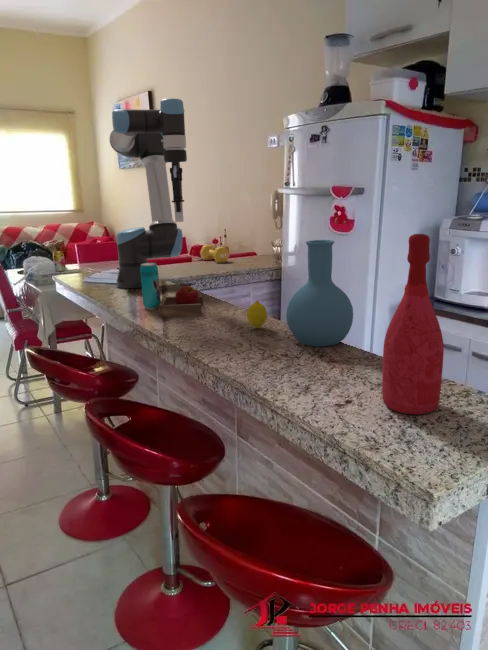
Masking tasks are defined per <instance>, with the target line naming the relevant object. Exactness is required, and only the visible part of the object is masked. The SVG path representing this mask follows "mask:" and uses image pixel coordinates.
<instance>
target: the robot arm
mask: <svg viewBox="0 0 488 650" xmlns="http://www.w3.org/2000/svg"><path fill="white" fill-rule="evenodd" d="M159 103H160V104H159V105H160V108H159V109H131V108H130V109H128V108H127V109H125V108H121V109H120V108H119V109H114V110H113V111H112V113H111V119H112V131H111V132H110V134H109V144H110V146H111V148H112V149H113V151H115V152H116V153H117V154H119V155H120V156H122V157H126V158H133V159H134V158H135V159H136V158H137V159H140V163H141V165H143V166H144V168H145V174H146V175H145V176H146V184H147V191H148V198H149V199H148V200H149V208H150V216H151V217H150V218H151V222H150V223H151V224H150V225H149V226H148V230H146V228H145V227H144V226H141V227H133V228H127V229H123V230H120V231H118V232H117V233H116V245H117V255H118V257H117V258H118V266H119V269H118V274H117V278H116V287H117V288H119V289H140V288H141V289H142V284H141V273H140V268H141V264H143V263H149V261H148V260H150V259H151V260H152V259H164V258H174V257H179V255H180V254H181V252H182V249H183V231H182V230H183V229H181V228H180V227H178V226H177V225H178V224H177V223H181V222H184V221H185V220H184V209H183V202H184V203H185V199H183V188H182V187H183V185H182V183H183V182H182V181H183V168H182V167H181V164H180V163H186V162H187V159H188V158H187V157H188V156H187V150H186V148H187V137H186V128H185V127H186V126H185V122H186V121H185V109H184V107H185V106H184V101H183V100H182V99H180V98H163V99H161V100H160V102H159ZM168 163H171V167H169V173H170V179H171V185H172V197H173V199H172V200H171V195H170V187H169V181H168V173H167V165H166V164H168ZM171 203H174V204H173V205H174V206H173V207H174V218H175V219H174V218H173V213H172V204H171ZM173 219H174V220H173Z"/></svg>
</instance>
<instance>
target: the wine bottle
mask: <svg viewBox="0 0 488 650" xmlns="http://www.w3.org/2000/svg"><path fill="white" fill-rule="evenodd" d="M430 243H431V240H430V236H429V235H427V234H425V233H413V234H411V235H410V236H409V238H408V253H407V257H406V258H407V262H408V264H409V268H408V275H407V281H406V282H407V283H406V284H405V286H404V293H403V296H402V298H401V300H400V303H399V304H398V306H397V308H396V309H395V312H394V314H393V316H392V318H391V320H390V322H389V325H388V327H387V330H386V333H385V336H384V341H383V349H382V351H383V353H382V382H381V383H382V386H381V387H382V392H381V395H382V401H383V404H384V405H385V406H387V407H388V408H389V409H390V410H392V411H395V412H397V413H400V414H406V415H425V414H429V413H431V412H433V411H435V410H436V409H437V408H438V406H439V402H440V397H441V390H442V389H441V388H442V379H443V378H442V377H443V367H444V350H445V349H444V345H445V344H444V336H443V333H442V329H441V326H440V323H439V320H438V317H437V315H436V312H435V309H434V307H433V304H432V302H431V299H430V296H429V295H430V294H429V288H428V283H427V264H428V262H430V260H431V255H430Z"/></svg>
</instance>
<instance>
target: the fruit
mask: <svg viewBox="0 0 488 650" xmlns="http://www.w3.org/2000/svg"><path fill="white" fill-rule="evenodd" d="M246 318H247V321H248V322H249V324H250V325H251V326H254V327H255V328H256V329H261V327H262V326H263V325H264V324H265V322H266V321H267V318H268V313H267V309H266V306H265V305H264V304H263V303H260V302H259V300H255V302H254V303H252V304H250V305H249V306H248V309H247V311H246Z"/></svg>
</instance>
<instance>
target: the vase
mask: <svg viewBox="0 0 488 650" xmlns="http://www.w3.org/2000/svg"><path fill="white" fill-rule="evenodd" d="M335 242H336V241H334V240H332V239H331V240H330V239H312V240H308V241H305V244H306V245H307V271H308V272H307V274H308V275H307V276H308V279H307V282H306V283H305V284H304V285H303V286H302V287H300V288H299V289H298V290H297V291H296V292H295V293H294V294H293V296H291V299H290V301H289V302H288V305H287V307H286V314H285V315H286V324H287V326H288V328H289V330H290V332H291V334H292V335H293V337H294V338H295V339H296V340H297V341H298V342H300V343H301V344H303V345H305V346H311V347H330V346H336V345H337V344H339V343H340V342H342V341H344V340H345V339H346V337H347V335H348V334H349V333H350V330H351V329H352V325H353V319H354V307H353V305H352V302H351V300H350V298H349V296H348V295H347V294H346V293H345V292H344V290H342V288H340V287H339V286H337V285H336V284H335V283H334V282H333V280H332V273H333V244H334V243H335Z"/></svg>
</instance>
